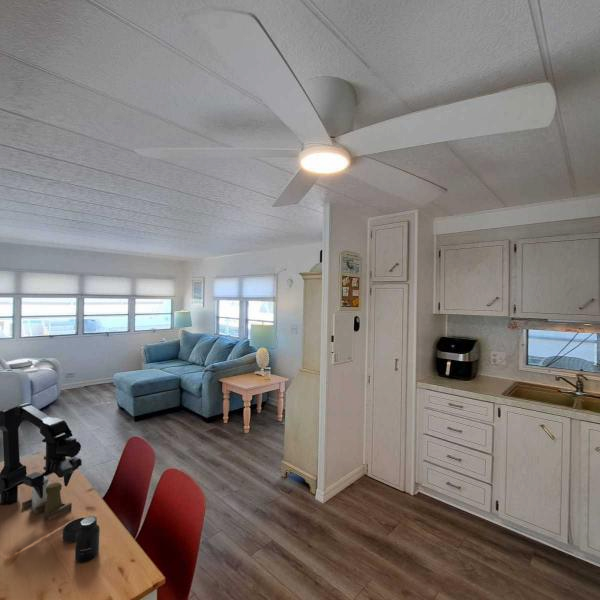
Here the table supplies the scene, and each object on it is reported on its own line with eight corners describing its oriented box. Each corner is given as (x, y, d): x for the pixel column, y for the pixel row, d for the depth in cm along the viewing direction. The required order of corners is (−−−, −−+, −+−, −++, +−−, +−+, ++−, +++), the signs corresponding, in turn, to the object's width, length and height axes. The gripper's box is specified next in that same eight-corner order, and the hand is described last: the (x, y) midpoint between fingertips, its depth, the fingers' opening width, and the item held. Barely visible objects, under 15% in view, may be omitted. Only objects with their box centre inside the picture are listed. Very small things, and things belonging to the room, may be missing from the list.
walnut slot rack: (22, 510, 134) (22, 502, 134) (43, 499, 142) (44, 491, 142) (49, 523, 127) (50, 514, 127) (71, 511, 134) (71, 503, 134)
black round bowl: (69, 547, 115) (69, 536, 115) (58, 537, 120) (58, 526, 120) (96, 533, 123) (96, 522, 123) (84, 523, 127) (85, 513, 127)
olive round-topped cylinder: (66, 508, 135) (66, 481, 135) (52, 517, 129) (52, 489, 129) (54, 505, 136) (54, 479, 136) (39, 515, 130) (40, 487, 130)
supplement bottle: (81, 567, 107) (81, 530, 107) (71, 558, 110) (71, 522, 110) (103, 553, 113) (103, 518, 113) (92, 545, 116) (93, 511, 116)
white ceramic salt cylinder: (28, 507, 135) (29, 481, 135) (43, 500, 140) (44, 474, 140) (36, 511, 132) (37, 484, 132) (51, 503, 138) (52, 477, 138)
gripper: (40, 468, 121) (39, 510, 121) (90, 447, 138) (89, 484, 138) (23, 461, 125) (22, 502, 125) (73, 442, 142) (72, 478, 142)
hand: (53, 491), depth 133 cm, fingers open, 9 cm apart
